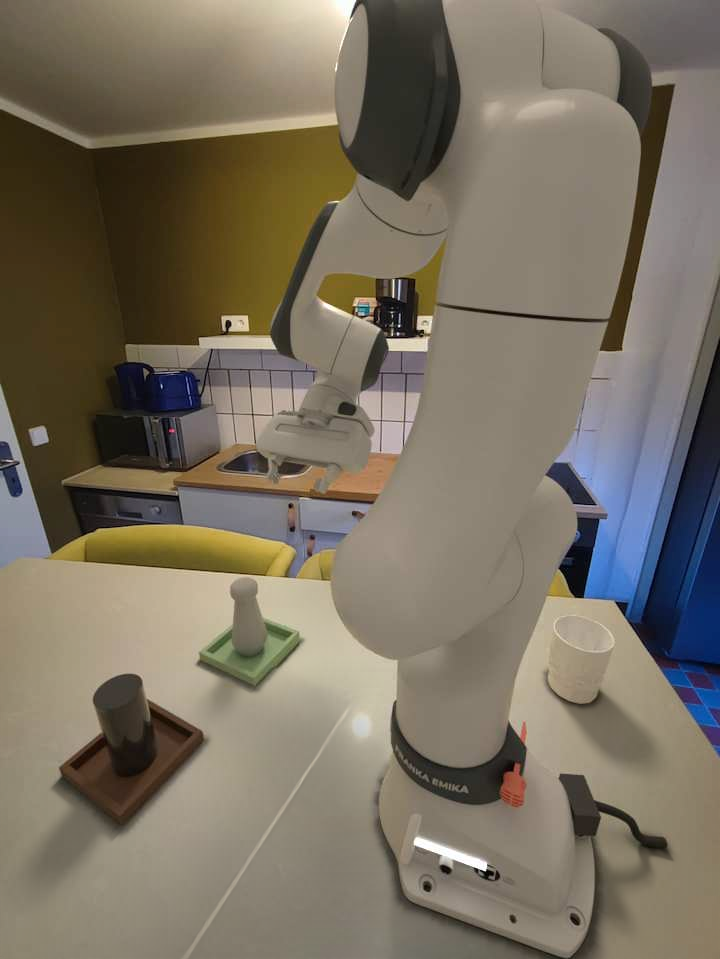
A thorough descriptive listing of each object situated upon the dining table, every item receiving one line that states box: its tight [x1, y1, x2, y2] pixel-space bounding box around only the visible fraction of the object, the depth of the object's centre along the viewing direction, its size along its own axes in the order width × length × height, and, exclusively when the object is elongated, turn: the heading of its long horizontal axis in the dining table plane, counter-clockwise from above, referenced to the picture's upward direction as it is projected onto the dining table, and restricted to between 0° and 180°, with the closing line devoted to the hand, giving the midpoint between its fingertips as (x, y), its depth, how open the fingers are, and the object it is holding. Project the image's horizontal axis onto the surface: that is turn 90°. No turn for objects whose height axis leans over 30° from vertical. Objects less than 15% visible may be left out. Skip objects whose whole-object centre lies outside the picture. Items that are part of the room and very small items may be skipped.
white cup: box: [547, 614, 616, 705], centre depth 63 cm, size 8×8×10 cm
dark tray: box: [58, 698, 205, 826], centre depth 54 cm, size 12×12×2 cm
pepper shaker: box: [92, 673, 158, 777], centre depth 52 cm, size 5×5×11 cm
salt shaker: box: [229, 576, 267, 657], centre depth 70 cm, size 6×6×13 cm
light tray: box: [198, 617, 301, 687], centre depth 72 cm, size 12×12×2 cm
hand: (294, 486), depth 68 cm, fingers open, 8 cm apart
